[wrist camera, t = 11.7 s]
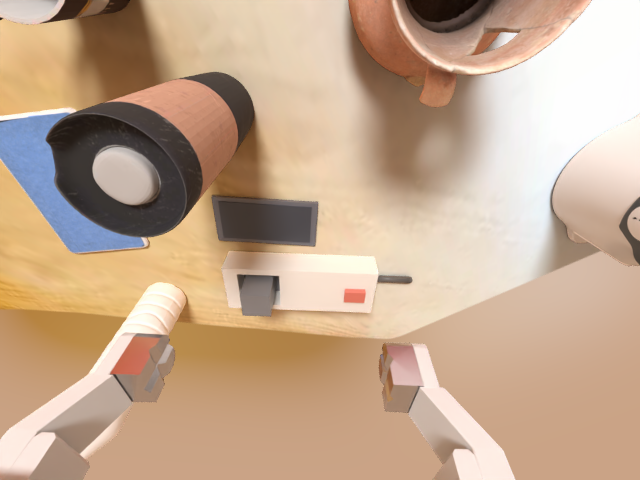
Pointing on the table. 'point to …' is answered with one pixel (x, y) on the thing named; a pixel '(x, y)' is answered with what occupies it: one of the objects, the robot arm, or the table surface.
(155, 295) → the water bottle
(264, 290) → the block
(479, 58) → the ceramic jug
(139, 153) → the travel mug
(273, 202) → the phone
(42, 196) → the tablet computer
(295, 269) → the power strip
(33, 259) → the table surface
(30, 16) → the coffee mug
